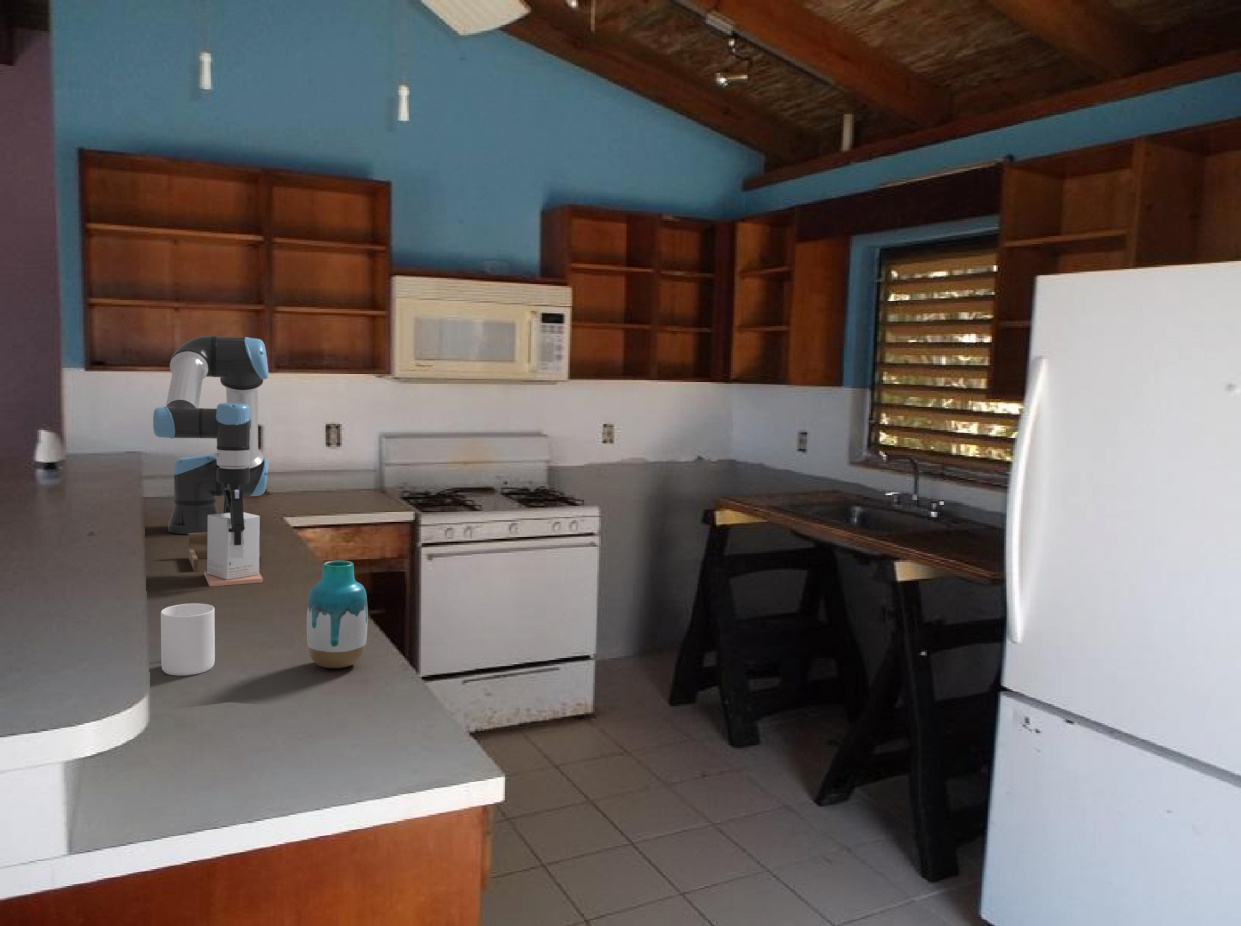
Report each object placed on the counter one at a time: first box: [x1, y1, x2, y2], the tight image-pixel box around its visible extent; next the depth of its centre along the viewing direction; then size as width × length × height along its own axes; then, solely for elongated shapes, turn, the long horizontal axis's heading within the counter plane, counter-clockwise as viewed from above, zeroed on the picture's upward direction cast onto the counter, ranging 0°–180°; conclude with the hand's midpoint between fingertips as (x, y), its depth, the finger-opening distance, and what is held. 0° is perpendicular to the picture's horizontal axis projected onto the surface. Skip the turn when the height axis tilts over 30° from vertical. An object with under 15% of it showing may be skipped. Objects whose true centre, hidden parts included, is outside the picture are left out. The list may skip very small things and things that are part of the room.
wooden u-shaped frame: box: [187, 532, 262, 572], centre depth 242 cm, size 16×16×7 cm
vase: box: [306, 559, 369, 669], centre depth 166 cm, size 11×11×19 cm
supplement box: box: [206, 511, 261, 580], centre depth 225 cm, size 9×9×15 cm
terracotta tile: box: [204, 570, 264, 587], centre depth 225 cm, size 12×12×1 cm
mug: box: [160, 602, 216, 677], centre depth 163 cm, size 9×12×11 cm
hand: (233, 552), depth 225 cm, fingers open, 13 cm apart
